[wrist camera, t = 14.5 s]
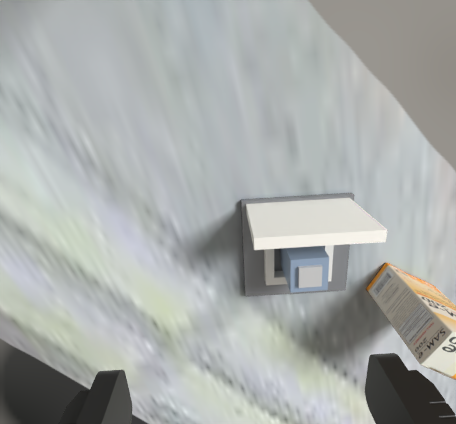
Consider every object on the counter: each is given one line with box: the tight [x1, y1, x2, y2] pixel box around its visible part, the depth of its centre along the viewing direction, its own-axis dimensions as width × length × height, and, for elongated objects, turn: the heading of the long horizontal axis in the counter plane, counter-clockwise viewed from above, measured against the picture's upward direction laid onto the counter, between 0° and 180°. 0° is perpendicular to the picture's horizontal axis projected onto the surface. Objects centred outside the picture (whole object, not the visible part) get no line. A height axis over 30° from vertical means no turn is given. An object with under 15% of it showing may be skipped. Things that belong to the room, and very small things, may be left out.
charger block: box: [280, 246, 329, 293], centre depth 37 cm, size 4×4×6 cm
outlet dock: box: [241, 193, 387, 296], centre depth 36 cm, size 13×13×10 cm
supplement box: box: [366, 263, 456, 380], centre depth 37 cm, size 8×5×13 cm, turn 63°
